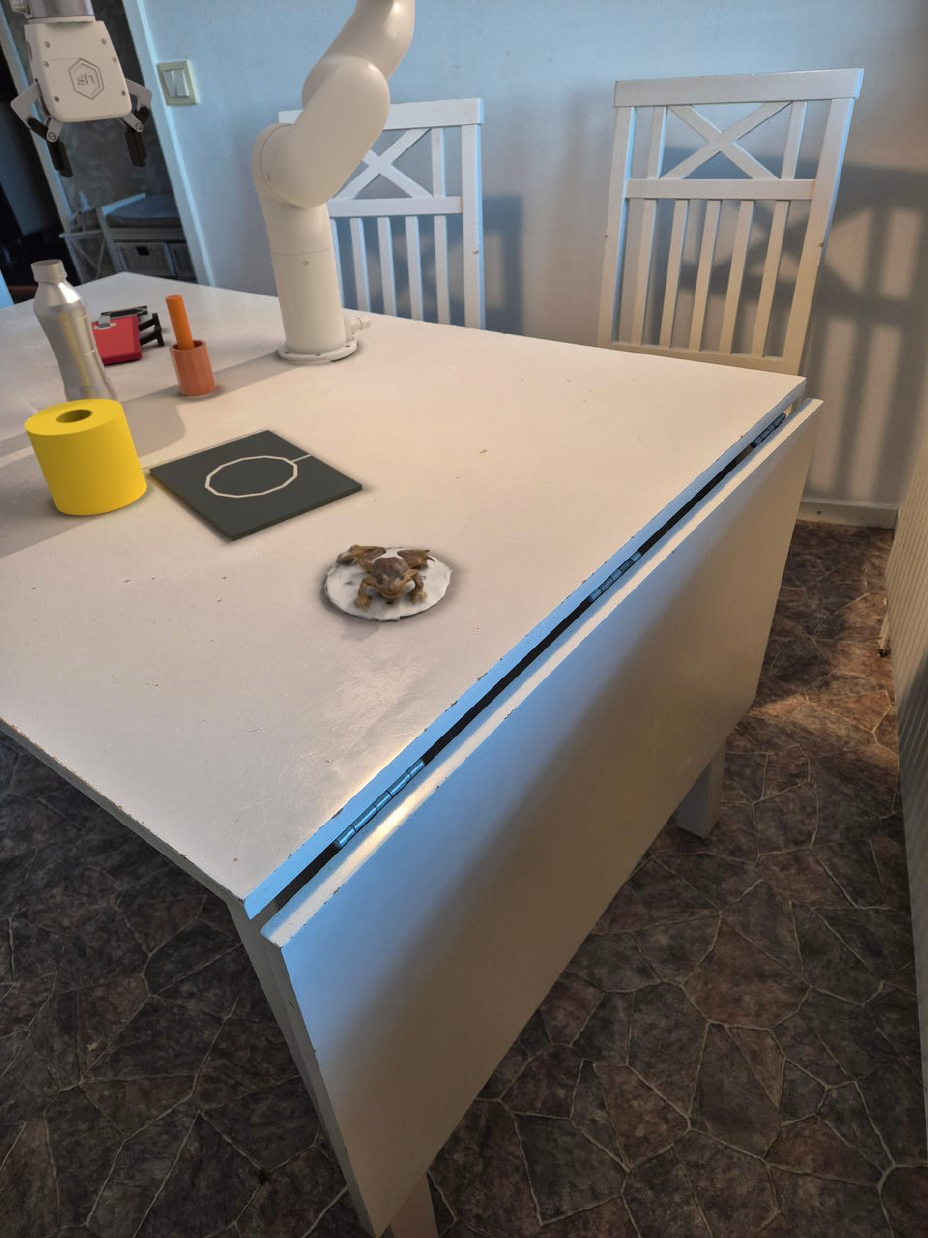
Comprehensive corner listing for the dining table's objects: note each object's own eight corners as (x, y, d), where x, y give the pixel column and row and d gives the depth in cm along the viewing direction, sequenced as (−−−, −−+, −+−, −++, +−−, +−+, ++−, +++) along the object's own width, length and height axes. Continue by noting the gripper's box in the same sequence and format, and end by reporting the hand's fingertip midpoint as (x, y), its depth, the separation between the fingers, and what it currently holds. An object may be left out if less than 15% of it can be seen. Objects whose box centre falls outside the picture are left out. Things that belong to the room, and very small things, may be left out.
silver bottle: (106, 424, 110) (54, 269, 98) (62, 423, 112) (6, 269, 100) (131, 406, 115) (85, 256, 103) (89, 405, 117) (38, 257, 105)
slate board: (268, 433, 105) (267, 428, 104) (362, 489, 91) (362, 483, 90) (150, 473, 97) (148, 468, 97) (232, 540, 83) (231, 535, 82)
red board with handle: (158, 308, 156) (76, 321, 153) (153, 293, 154) (71, 306, 151) (166, 356, 133) (70, 373, 130) (161, 339, 131) (64, 355, 128)
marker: (201, 385, 119) (177, 293, 111) (207, 389, 118) (184, 296, 110) (186, 389, 118) (162, 296, 110) (193, 393, 117) (169, 299, 109)
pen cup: (208, 384, 121) (196, 337, 117) (223, 392, 118) (211, 344, 114) (176, 393, 119) (163, 345, 115) (190, 402, 115) (178, 353, 111)
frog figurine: (466, 609, 71) (464, 572, 69) (329, 632, 69) (322, 595, 67) (441, 544, 80) (439, 510, 78) (320, 563, 78) (314, 528, 76)
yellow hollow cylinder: (156, 497, 92) (132, 418, 86) (64, 524, 88) (32, 443, 82) (134, 467, 99) (111, 391, 93) (48, 490, 95) (18, 413, 89)
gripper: (-10, 9, 90) (45, 183, 100) (141, 3, 98) (177, 164, 108) (-27, 12, 94) (27, 178, 104) (118, 7, 103) (155, 160, 113)
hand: (104, 171), depth 106 cm, fingers open, 9 cm apart
